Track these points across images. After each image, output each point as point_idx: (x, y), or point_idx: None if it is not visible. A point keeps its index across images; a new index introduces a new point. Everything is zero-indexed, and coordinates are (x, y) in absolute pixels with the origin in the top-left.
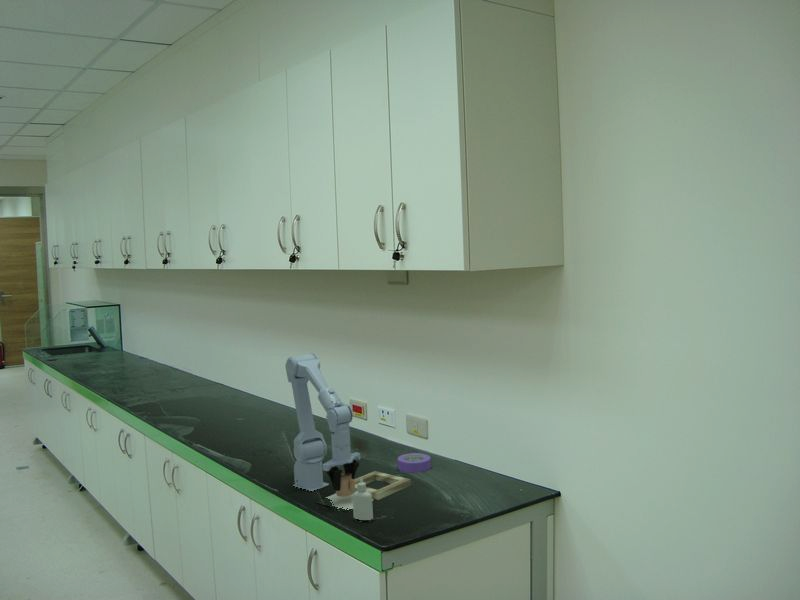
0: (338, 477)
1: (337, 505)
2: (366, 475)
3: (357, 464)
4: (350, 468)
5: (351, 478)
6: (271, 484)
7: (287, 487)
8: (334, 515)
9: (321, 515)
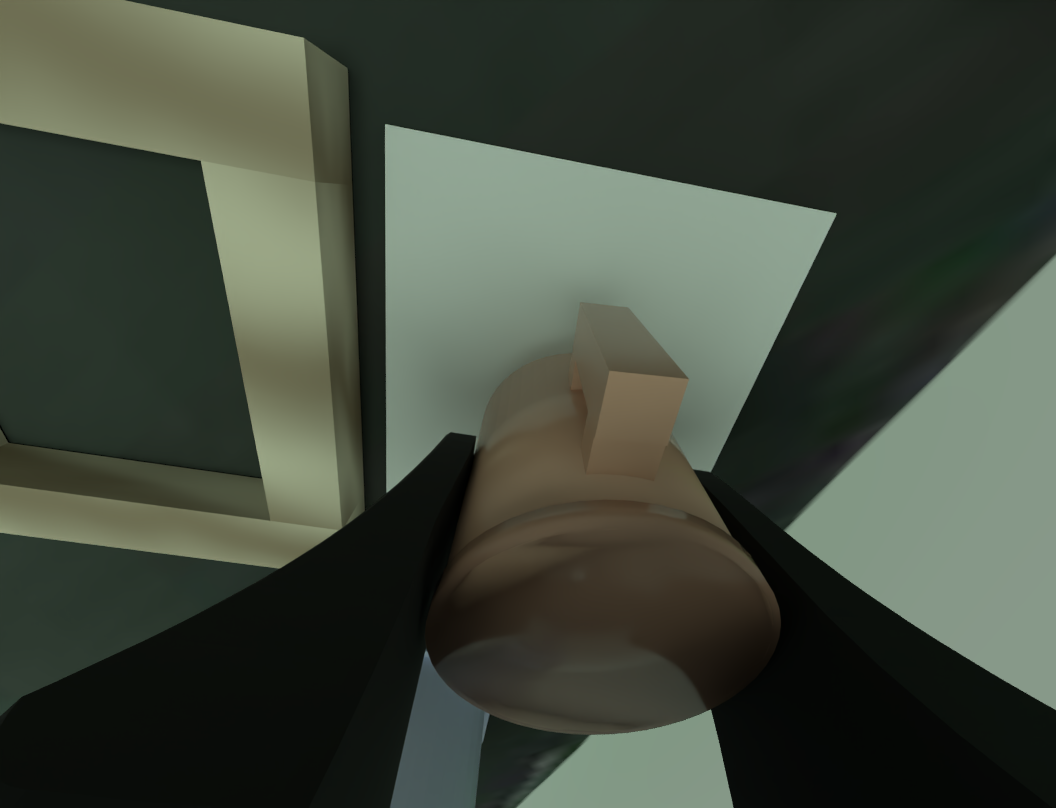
0: (929, 649)
1: (687, 393)
2: (39, 524)
3: (70, 804)
4: (384, 721)
5: (515, 482)
6: (499, 789)
7: (497, 744)
8: (916, 286)
9: (915, 395)
